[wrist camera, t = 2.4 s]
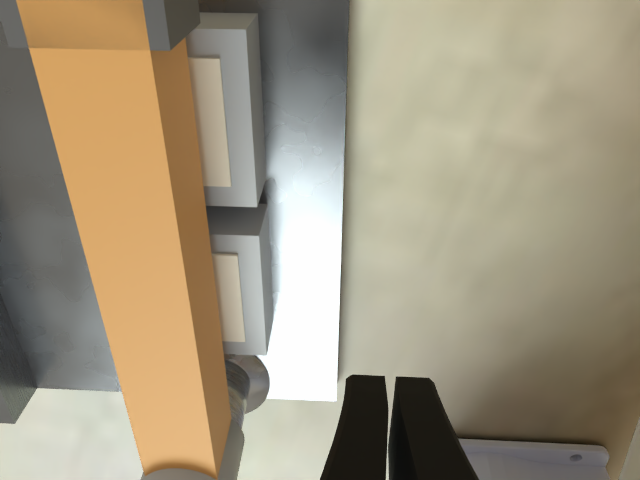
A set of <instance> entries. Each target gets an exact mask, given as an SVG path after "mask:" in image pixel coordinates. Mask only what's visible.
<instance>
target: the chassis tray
mask: <svg viewBox="0 0 640 480" xmlns="http://www.w3.org/2000/svg"><path fill="white" fill-rule="evenodd" d="M198 3H199V12H210V13H258V25H259V44H260V64H261V83H262V102H263V122H264V141H265V160H266V180H265V183H264V186H263V190H262V193H261V196H260V200H259V203H258V204H268V218H269V237H270V257H271V276H272V295H273V315H274V319H273V325H272V330H271V335H270V341H269V346H268V351H267V356H262V355H238V354H224V361H225V369H226V377H227V386H228V394H229V402H230V410H231V419H233V420H234V421H235V422H236V423H237V424H238V425H239V426H240V428H241V429H242V424H243V420H244V415H245V414H246V413H249V412H251V411H253V410H255V409H256V408H258V407H259V406H260V405H261V404H262V403H263V402H264V401H265V399H266V398H270V399H291V400H313V401H335V402H336V401H337V372H338V340H339V309H340V277H341V246H342V214H343V183H344V151H345V120H346V88H347V57H348V25H349V0H198ZM37 388H51V389H72V390H94V391H116V392H122V390H121V386H120V382H119V379H118V375H117V371H116V368H115V364H114V360H113V357H112V353H111V349H110V345H109V342H108V338H107V334H106V331H105V327H104V323H103V320H102V316H101V312H100V309H99V305H98V301H97V297H96V294H95V290H94V286H93V283H92V279H91V275H90V272H89V268H88V264H87V260H86V257H85V253H84V249H83V246H82V242H81V238H80V235H79V231H78V227H77V224H76V220H75V216H74V212H73V209H72V205H71V201H70V198H69V194H68V190H67V187H66V183H65V179H64V176H63V172H62V168H61V164H60V161H59V157H58V153H57V150H56V146H55V142H54V139H53V135H52V131H51V128H50V124H49V120H48V116H47V113H46V109H45V105H44V102H43V98H42V94H41V91H40V87H39V83H38V80H37V76H36V72H35V68H34V65H33V61H32V57H31V54H30V50H29V48H9V46H8V42H7V39H6V36H5V32H4V29H3V25H2V22H1V18H0V423H11V424H15V423H16V421H17V419H18V418H19V416H20V415H21V413H22V411H23V410H24V408H25V407H26V405H27V403H28V402H29V400H30V399H31V397H32V395H33V394H34V392H35V391H36V389H37Z"/></svg>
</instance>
